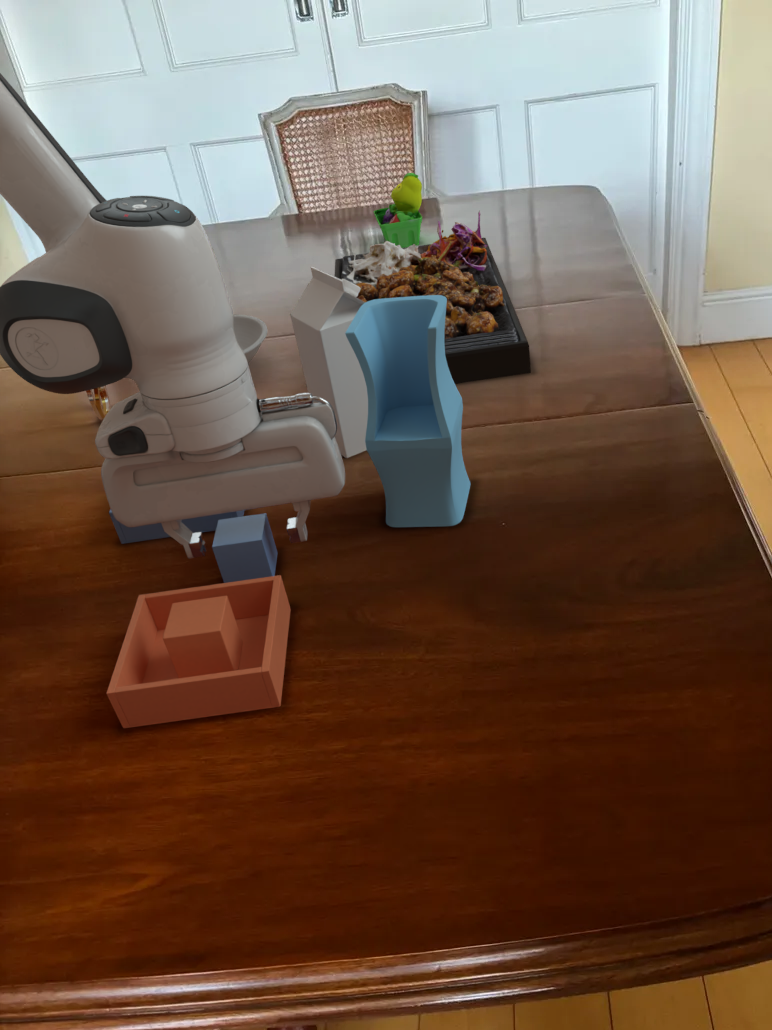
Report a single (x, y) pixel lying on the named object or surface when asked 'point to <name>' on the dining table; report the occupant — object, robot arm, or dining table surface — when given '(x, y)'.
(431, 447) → the blue wingback chair
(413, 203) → the fruit basket
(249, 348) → the dish
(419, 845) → the dining table surface
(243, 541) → the blue-grey block
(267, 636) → the terracotta tray
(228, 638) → the terracotta block
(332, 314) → the milk carton
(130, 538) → the blue-grey tray
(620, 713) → the dining table surface
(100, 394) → the ring
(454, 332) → the food platter
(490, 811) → the dining table surface
